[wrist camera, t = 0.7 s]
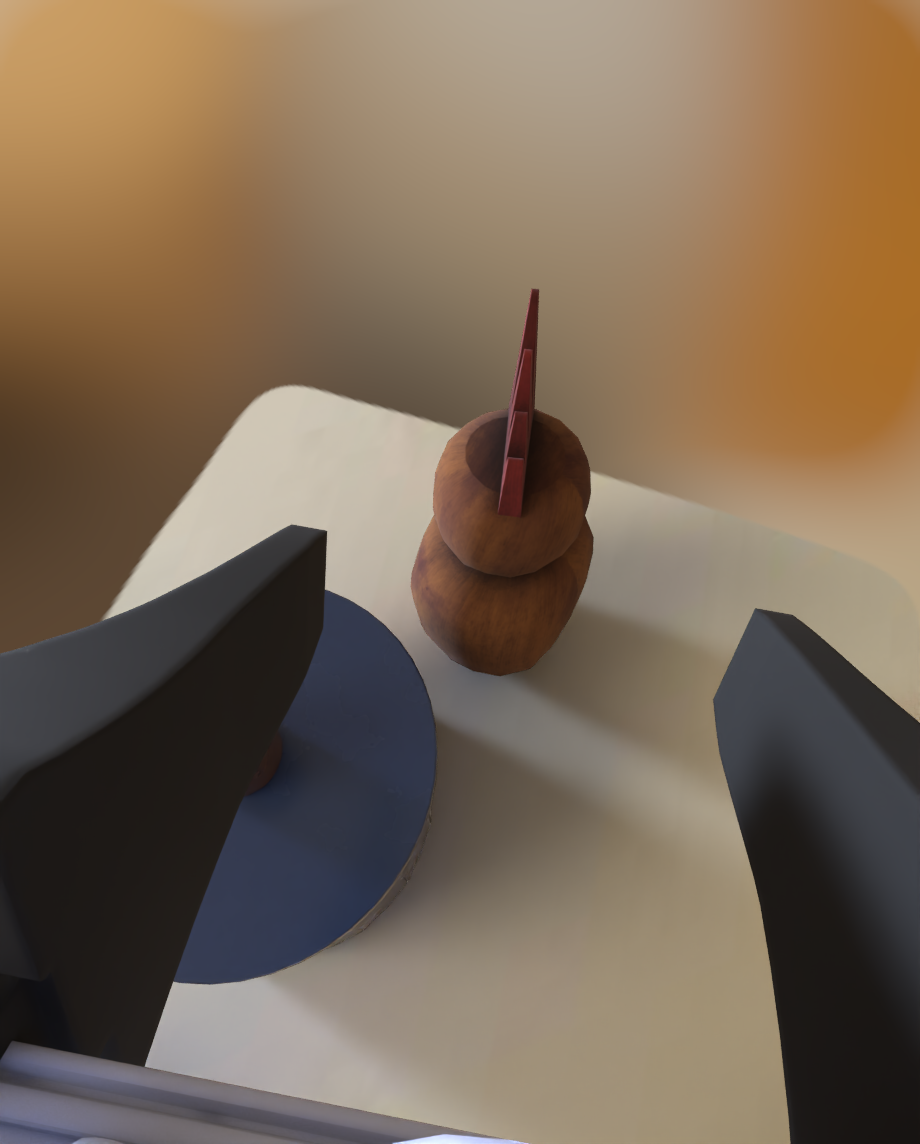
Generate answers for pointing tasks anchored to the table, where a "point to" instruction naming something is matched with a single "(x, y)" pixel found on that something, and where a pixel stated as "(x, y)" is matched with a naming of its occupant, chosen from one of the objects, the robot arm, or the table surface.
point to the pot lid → (322, 808)
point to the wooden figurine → (506, 532)
